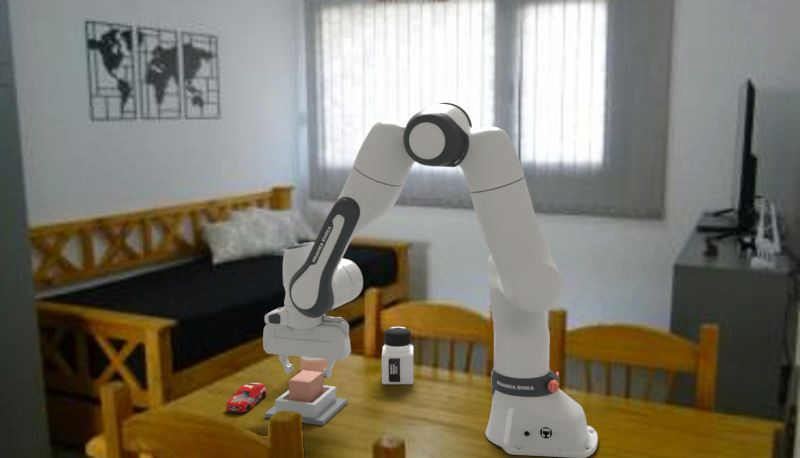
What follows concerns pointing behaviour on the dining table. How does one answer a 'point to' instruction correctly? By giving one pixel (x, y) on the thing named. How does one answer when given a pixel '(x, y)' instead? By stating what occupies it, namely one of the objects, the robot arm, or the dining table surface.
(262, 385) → the race car
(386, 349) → the container
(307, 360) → the salt shaker
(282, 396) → the square socket base
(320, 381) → the pink upright box
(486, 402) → the dining table surface
